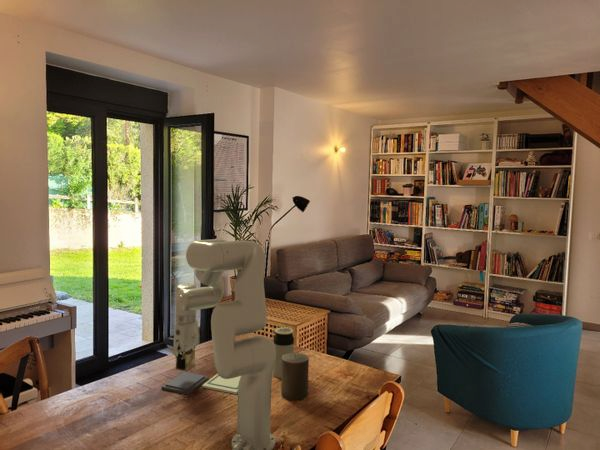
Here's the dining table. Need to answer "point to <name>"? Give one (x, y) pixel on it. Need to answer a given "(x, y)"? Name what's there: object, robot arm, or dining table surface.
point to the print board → (223, 384)
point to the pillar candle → (294, 376)
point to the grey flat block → (185, 383)
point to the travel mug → (282, 347)
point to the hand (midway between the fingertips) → (185, 365)
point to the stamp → (188, 360)
